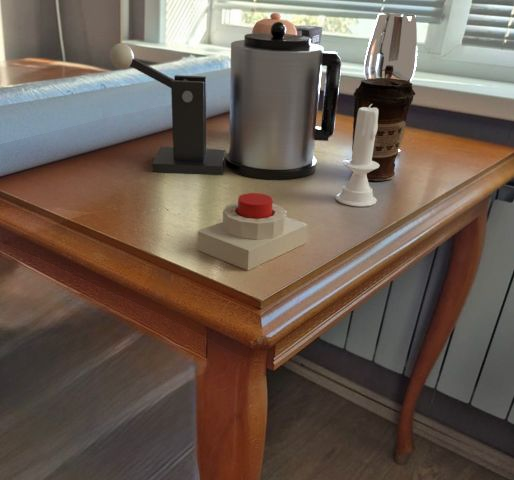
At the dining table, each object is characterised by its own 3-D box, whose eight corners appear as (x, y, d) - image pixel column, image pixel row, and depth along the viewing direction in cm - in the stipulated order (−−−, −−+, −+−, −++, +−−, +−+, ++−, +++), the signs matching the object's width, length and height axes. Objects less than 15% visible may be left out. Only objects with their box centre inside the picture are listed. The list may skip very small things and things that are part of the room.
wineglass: (373, 142, 106) (392, 11, 95) (410, 152, 101) (434, 16, 90) (344, 149, 101) (360, 12, 90) (381, 160, 97) (403, 17, 86)
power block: (247, 271, 61) (249, 233, 59) (197, 250, 64) (197, 214, 62) (306, 243, 67) (309, 208, 65) (258, 225, 71) (259, 192, 69)
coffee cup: (410, 185, 86) (428, 87, 79) (354, 185, 85) (367, 86, 78) (389, 167, 94) (403, 75, 87) (337, 167, 92) (347, 74, 85)
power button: (256, 223, 62) (257, 207, 61) (230, 214, 64) (230, 198, 63) (278, 214, 64) (279, 198, 63) (252, 206, 66) (253, 190, 65)
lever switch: (104, 63, 81) (112, 40, 80) (109, 60, 84) (117, 37, 83) (192, 110, 85) (202, 88, 83) (194, 105, 87) (203, 84, 86)
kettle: (223, 177, 86) (225, 24, 75) (227, 151, 97) (229, 15, 87) (334, 182, 86) (352, 30, 76) (325, 155, 97) (339, 20, 87)
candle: (364, 192, 83) (377, 98, 76) (384, 205, 79) (399, 108, 72) (328, 195, 81) (339, 100, 75) (347, 208, 77) (360, 109, 71)
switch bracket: (152, 172, 86) (147, 82, 80) (160, 154, 94) (157, 71, 88) (222, 174, 87) (223, 86, 80) (225, 157, 94) (226, 75, 88)
